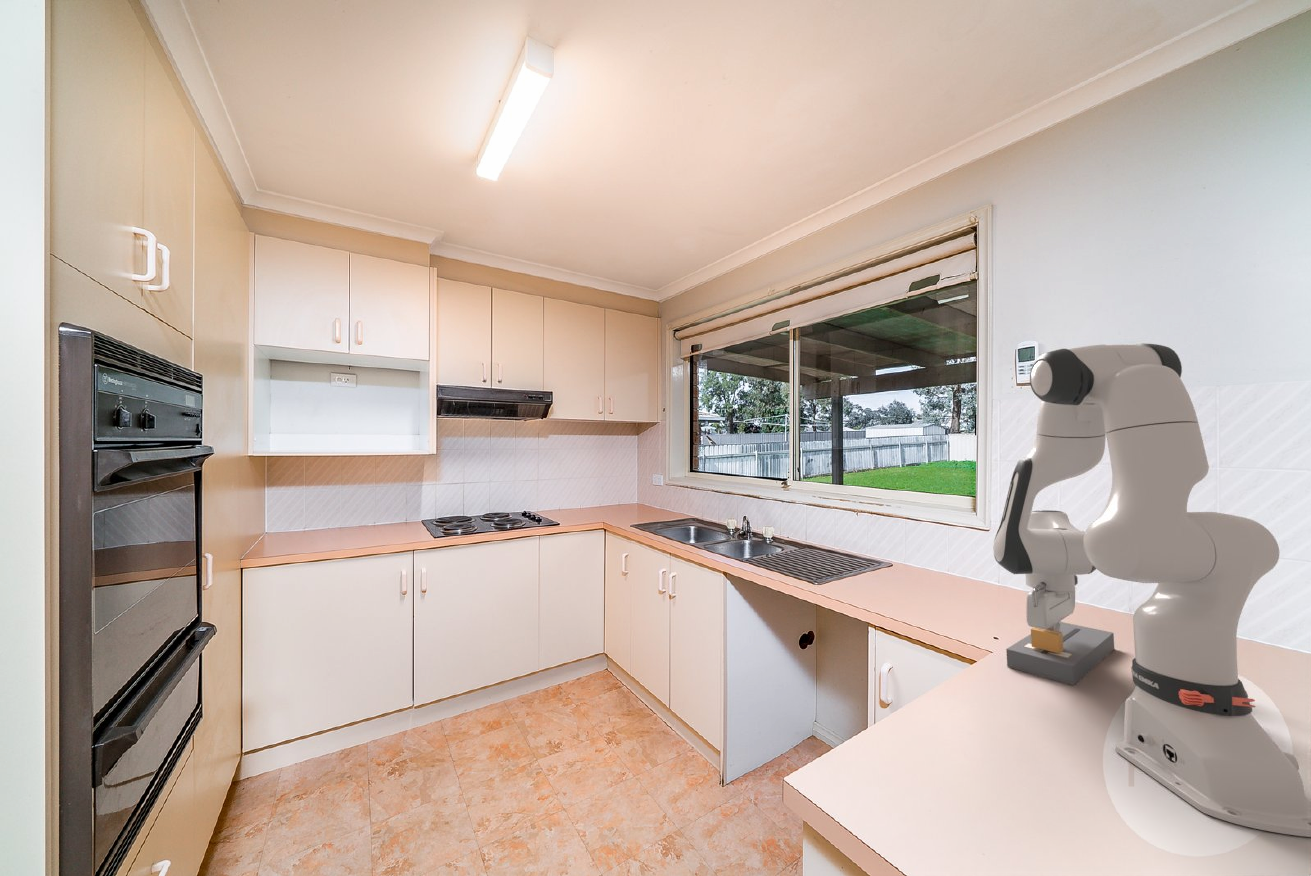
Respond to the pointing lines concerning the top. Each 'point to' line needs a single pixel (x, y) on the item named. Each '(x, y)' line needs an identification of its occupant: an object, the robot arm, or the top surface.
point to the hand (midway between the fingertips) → (1052, 639)
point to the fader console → (1063, 654)
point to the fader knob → (1047, 639)
